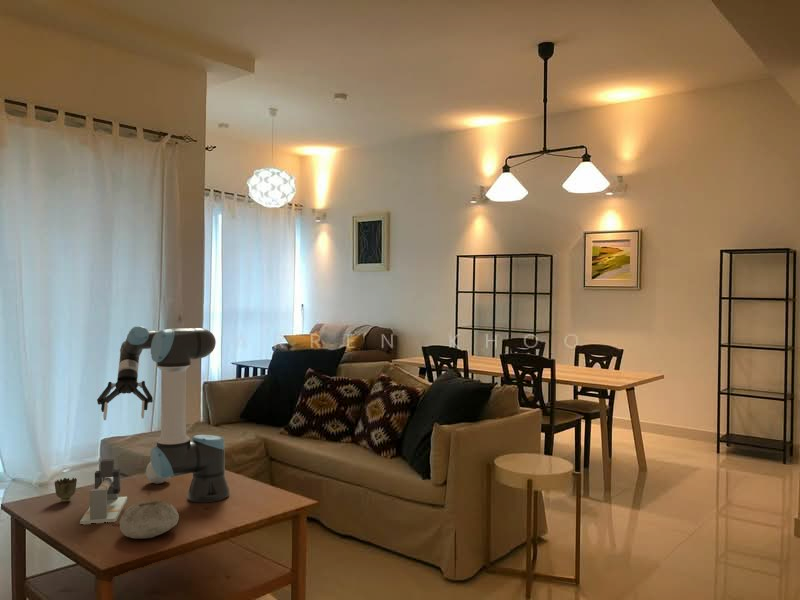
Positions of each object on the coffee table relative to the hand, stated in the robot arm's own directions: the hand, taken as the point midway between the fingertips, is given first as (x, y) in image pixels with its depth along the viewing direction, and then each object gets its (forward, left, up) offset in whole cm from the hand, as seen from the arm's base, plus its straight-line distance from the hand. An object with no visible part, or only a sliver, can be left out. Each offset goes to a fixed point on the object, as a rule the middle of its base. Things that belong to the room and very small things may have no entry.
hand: (123, 417), depth 249 cm
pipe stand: (-10, +19, -29) cm, 36 cm away
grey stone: (-40, +30, -30) cm, 58 cm away
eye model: (-4, -15, -30) cm, 33 cm away
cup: (+12, +16, -30) cm, 36 cm away
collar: (-7, +15, -24) cm, 29 cm away
